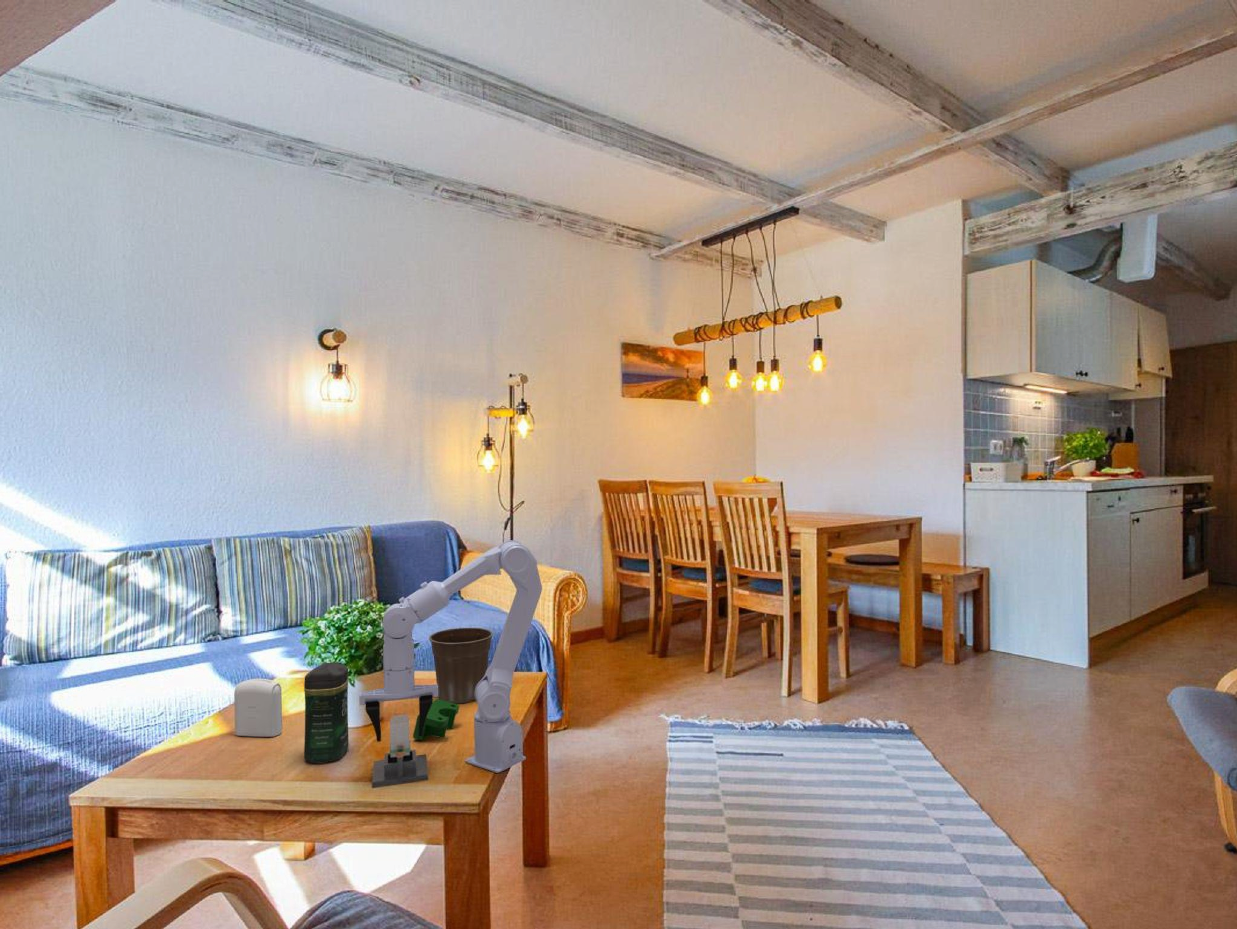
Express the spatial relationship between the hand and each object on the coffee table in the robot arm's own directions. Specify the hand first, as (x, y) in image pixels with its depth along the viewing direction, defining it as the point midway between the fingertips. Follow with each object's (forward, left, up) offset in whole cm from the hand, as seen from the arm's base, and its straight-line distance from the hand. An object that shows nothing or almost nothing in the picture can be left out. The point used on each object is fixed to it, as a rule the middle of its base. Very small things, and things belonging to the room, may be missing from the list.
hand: (399, 737), depth 135 cm
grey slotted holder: (0, 0, -7) cm, 7 cm away
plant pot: (+25, -38, -7) cm, 46 cm away
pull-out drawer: (0, 0, -3) cm, 3 cm away
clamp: (+10, -18, -7) cm, 22 cm away
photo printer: (+44, +5, -7) cm, 45 cm away
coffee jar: (+20, +3, -7) cm, 21 cm away
